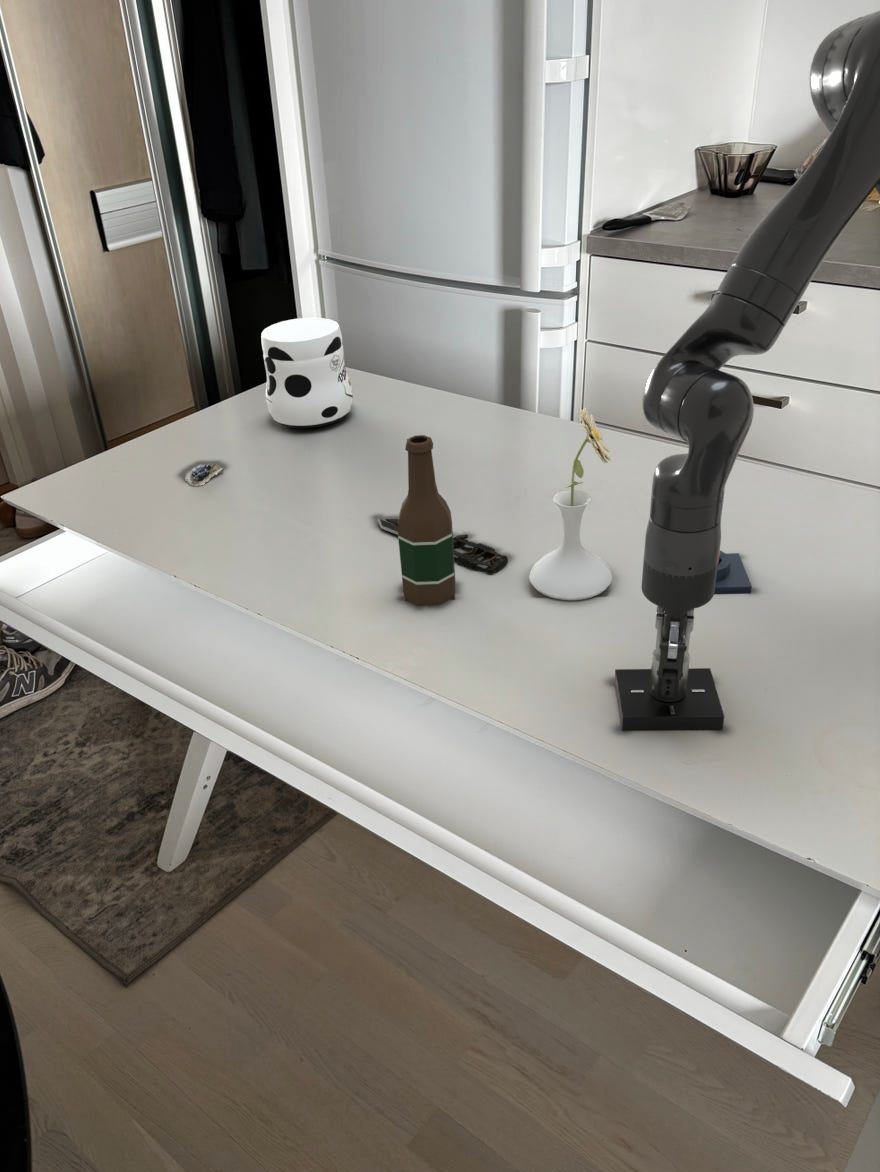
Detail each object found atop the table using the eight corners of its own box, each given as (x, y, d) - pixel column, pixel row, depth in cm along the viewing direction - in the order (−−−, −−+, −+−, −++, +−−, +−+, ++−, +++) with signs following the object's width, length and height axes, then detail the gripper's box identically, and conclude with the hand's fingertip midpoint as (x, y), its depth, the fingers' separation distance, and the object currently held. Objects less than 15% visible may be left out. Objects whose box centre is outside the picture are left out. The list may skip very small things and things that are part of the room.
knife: (371, 526, 158) (370, 519, 157) (401, 512, 161) (400, 504, 160) (482, 580, 141) (482, 572, 140) (513, 563, 144) (513, 555, 144)
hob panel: (707, 688, 117) (710, 666, 115) (721, 737, 109) (724, 715, 108) (613, 689, 118) (615, 668, 116) (621, 737, 111) (622, 716, 109)
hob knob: (650, 679, 114) (653, 640, 111) (686, 682, 113) (690, 643, 110) (648, 700, 111) (652, 661, 108) (685, 703, 110) (689, 664, 107)
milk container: (372, 413, 198) (363, 323, 187) (309, 442, 188) (296, 349, 178) (315, 396, 208) (303, 311, 198) (252, 423, 198) (236, 334, 188)
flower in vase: (594, 615, 131) (602, 441, 117) (516, 598, 136) (514, 429, 122) (626, 569, 141) (636, 402, 126) (552, 554, 146) (554, 393, 131)
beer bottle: (417, 579, 143) (404, 424, 129) (466, 588, 140) (458, 430, 126) (393, 607, 137) (377, 447, 124) (444, 617, 134) (433, 454, 120)
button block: (737, 563, 140) (740, 541, 138) (750, 597, 132) (753, 574, 130) (658, 565, 141) (660, 543, 139) (667, 598, 133) (669, 576, 131)
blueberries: (228, 467, 181) (226, 458, 180) (214, 486, 175) (212, 477, 174) (193, 467, 182) (191, 458, 181) (178, 486, 176) (176, 477, 175)
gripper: (719, 594, 95) (701, 728, 105) (718, 524, 106) (702, 651, 116) (640, 588, 97) (629, 721, 107) (647, 520, 108) (637, 646, 118)
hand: (667, 684), depth 112 cm, fingers closed on hob knob, 4 cm apart
